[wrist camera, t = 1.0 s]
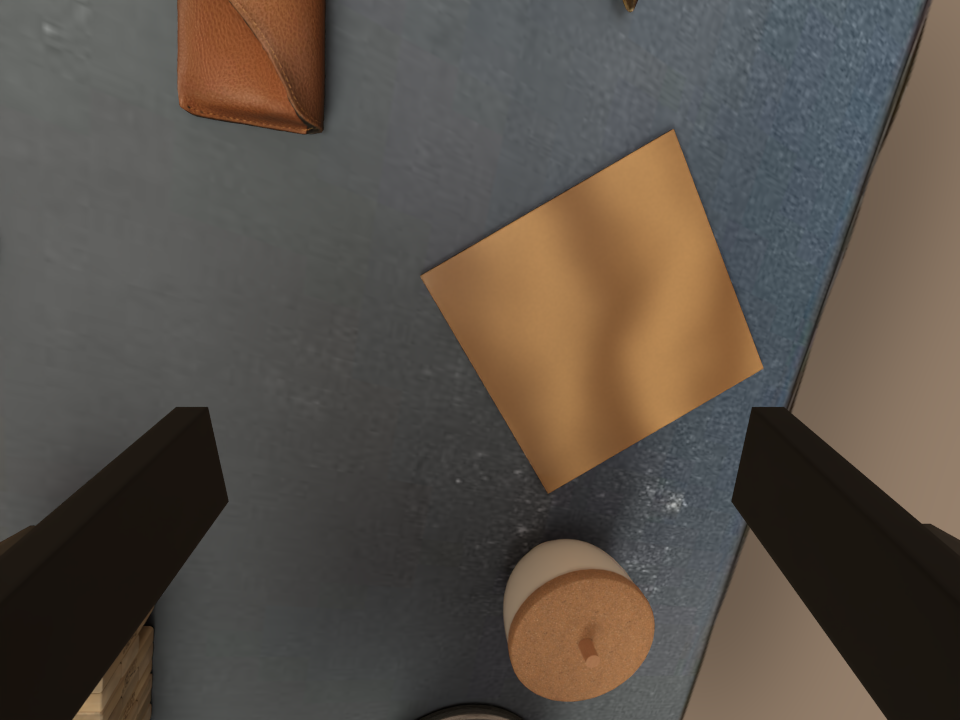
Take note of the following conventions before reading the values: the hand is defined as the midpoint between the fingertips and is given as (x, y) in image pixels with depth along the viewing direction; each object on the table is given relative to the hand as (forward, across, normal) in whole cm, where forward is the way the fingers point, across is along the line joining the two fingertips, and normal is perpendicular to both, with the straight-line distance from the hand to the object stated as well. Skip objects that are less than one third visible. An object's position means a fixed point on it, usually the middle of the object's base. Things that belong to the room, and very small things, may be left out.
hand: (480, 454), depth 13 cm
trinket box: (+23, -6, +26) cm, 36 cm away
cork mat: (+26, -9, +5) cm, 28 cm away
